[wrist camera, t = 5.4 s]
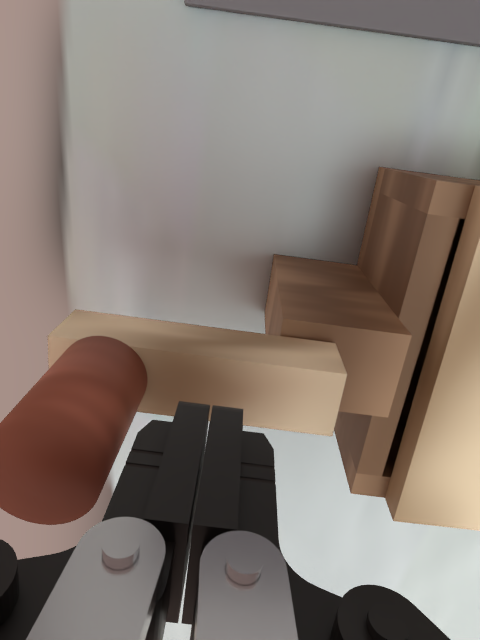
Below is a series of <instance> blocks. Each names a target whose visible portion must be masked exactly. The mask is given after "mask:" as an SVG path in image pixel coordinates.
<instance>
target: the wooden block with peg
mask: <svg viewBox="0 0 480 640" xmlns="http://www.w3.org/2000/svg"><path fill="white" fill-rule="evenodd" d="M48 361H49V370H48V371H47V372H46V373H45V374H44V375H43V376H42V378H41V379H40V380H39V381H38V382H37V383H36V384H35V385H34V386H33V388H32V389H31V390H30V391H29V392H28V393H27V394H26V395H25V396H24V397H23V398H22V400H21V401H20V402H19V403H18V404H17V405H16V406H15V407H14V408H13V410H12V411H11V412H10V413H9V414H8V415H7V416H6V417H5V418H4V420H3V421H2V422H1V423H0V508H2V509H3V510H4V511H6V512H8V513H9V514H11V515H13V516H15V517H17V518H20V519H22V520H25V521H28V522H32V523H38V524H46V525H56V524H64V523H68V522H71V521H73V520H76V519H78V518H80V517H82V516H83V515H85V514H86V513H87V512H89V511H90V510H91V508H93V506H94V505H95V503H96V502H97V499H98V497H99V495H100V493H101V490H102V488H103V486H104V484H105V482H106V479H107V477H108V475H109V473H110V470H111V468H112V466H113V463H114V461H115V459H116V457H117V454H118V452H119V450H120V448H121V445H122V443H123V441H124V439H125V436H126V434H127V432H128V430H129V427H130V425H131V423H132V421H133V418H134V416H135V414H136V412H144V413H152V414H159V415H167V416H175V412H176V409H177V406H178V403H179V401H184V402H192V403H200V404H207V405H210V412H209V420H208V421H210V418H211V412H212V406H213V405H216V406H224V407H232V408H240V409H243V425H246V426H254V427H262V428H269V429H277V430H285V431H293V432H301V433H309V434H317V435H325V436H332V435H333V431H334V427H335V423H336V419H337V415H338V410H339V406H340V402H341V398H342V394H343V390H344V386H345V381H346V377H347V373H346V370H345V367H344V365H343V362H342V359H341V357H340V354H339V351H338V349H337V346H336V344H335V343H330V342H322V341H315V340H307V339H299V338H291V337H284V336H276V335H268V334H261V333H253V332H245V331H238V330H230V329H222V328H215V327H207V326H199V325H191V324H184V323H176V322H168V321H161V320H153V319H145V318H138V317H130V316H122V315H115V314H107V313H99V312H92V311H84V310H76V309H75V310H74V311H73V312H72V313H71V314H70V315H69V316H68V317H67V318H66V319H65V320H64V321H63V322H62V323H61V324H60V325H59V326H57V327H56V328H55V329H54V330H53V331H52V332H51V333H50V334H49V335H48Z"/></svg>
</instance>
